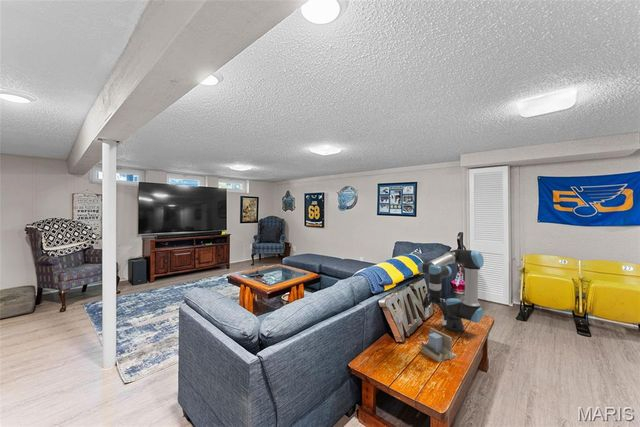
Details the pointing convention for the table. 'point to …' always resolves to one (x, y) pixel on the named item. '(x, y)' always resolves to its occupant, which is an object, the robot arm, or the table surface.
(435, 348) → the grey rectangular block
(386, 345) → the table surface
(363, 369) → the table surface
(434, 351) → the grey slotted stand
